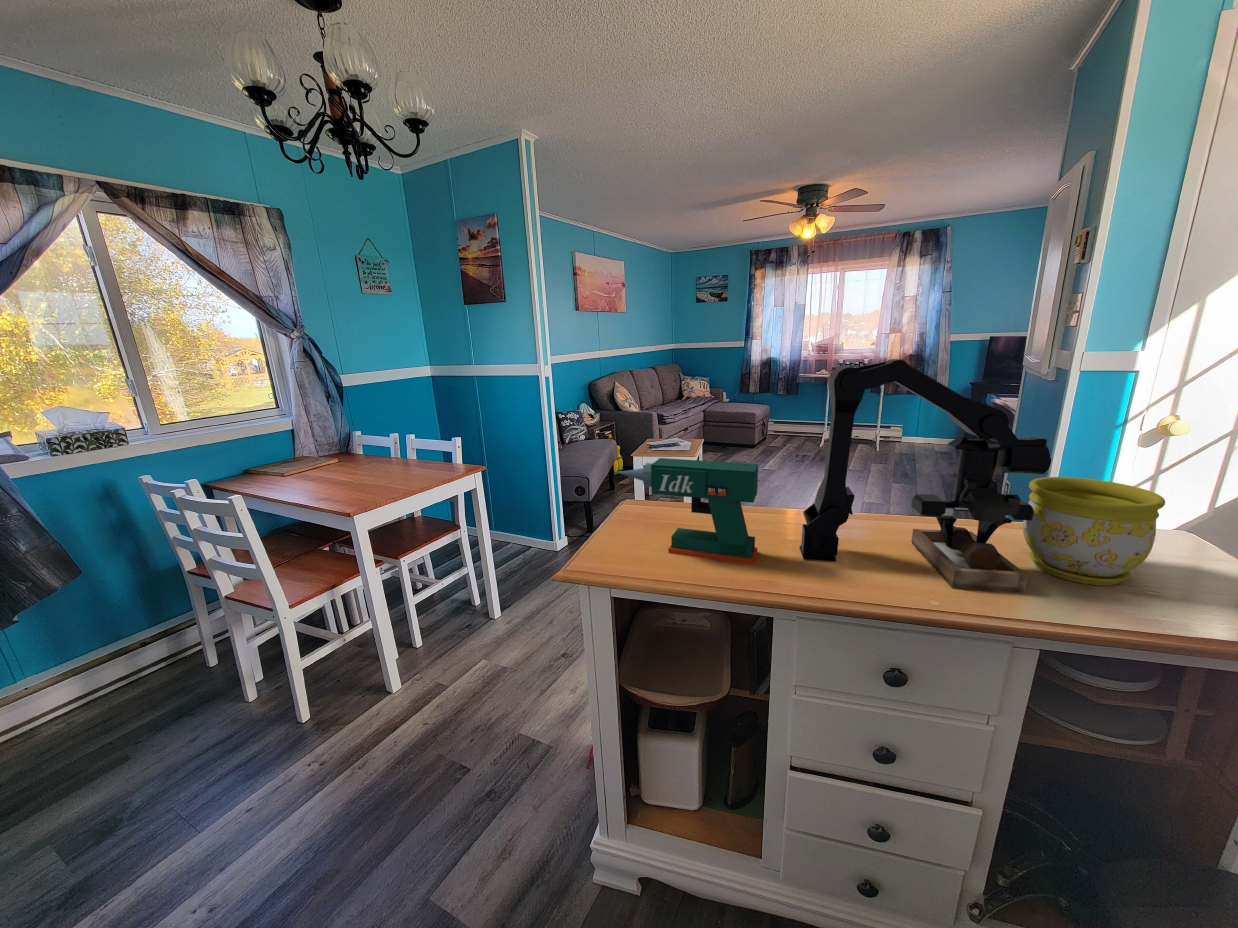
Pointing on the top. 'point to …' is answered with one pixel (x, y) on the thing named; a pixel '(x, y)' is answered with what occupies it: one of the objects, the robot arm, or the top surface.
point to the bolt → (974, 550)
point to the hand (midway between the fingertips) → (963, 547)
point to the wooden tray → (966, 566)
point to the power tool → (707, 504)
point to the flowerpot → (1090, 528)
